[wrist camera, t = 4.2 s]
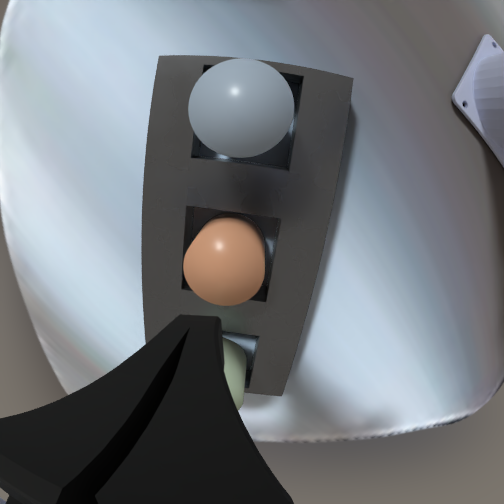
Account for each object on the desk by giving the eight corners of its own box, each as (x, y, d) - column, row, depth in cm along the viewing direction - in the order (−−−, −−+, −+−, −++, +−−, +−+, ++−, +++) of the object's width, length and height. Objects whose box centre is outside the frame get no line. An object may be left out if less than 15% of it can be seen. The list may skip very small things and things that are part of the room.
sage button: (188, 331, 18) (174, 368, 15) (250, 341, 18) (247, 380, 15) (187, 374, 19) (176, 410, 16) (242, 383, 20) (239, 420, 16)
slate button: (211, 73, 13) (196, 55, 9) (292, 83, 13) (300, 65, 9) (201, 149, 14) (182, 152, 11) (281, 159, 14) (285, 165, 11)
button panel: (170, 64, 14) (159, 55, 12) (343, 84, 14) (353, 78, 12) (156, 358, 22) (149, 374, 20) (280, 377, 22) (281, 396, 20)
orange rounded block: (201, 208, 17) (185, 225, 14) (269, 218, 17) (270, 237, 14) (196, 271, 18) (181, 299, 15) (259, 280, 18) (258, 310, 15)
